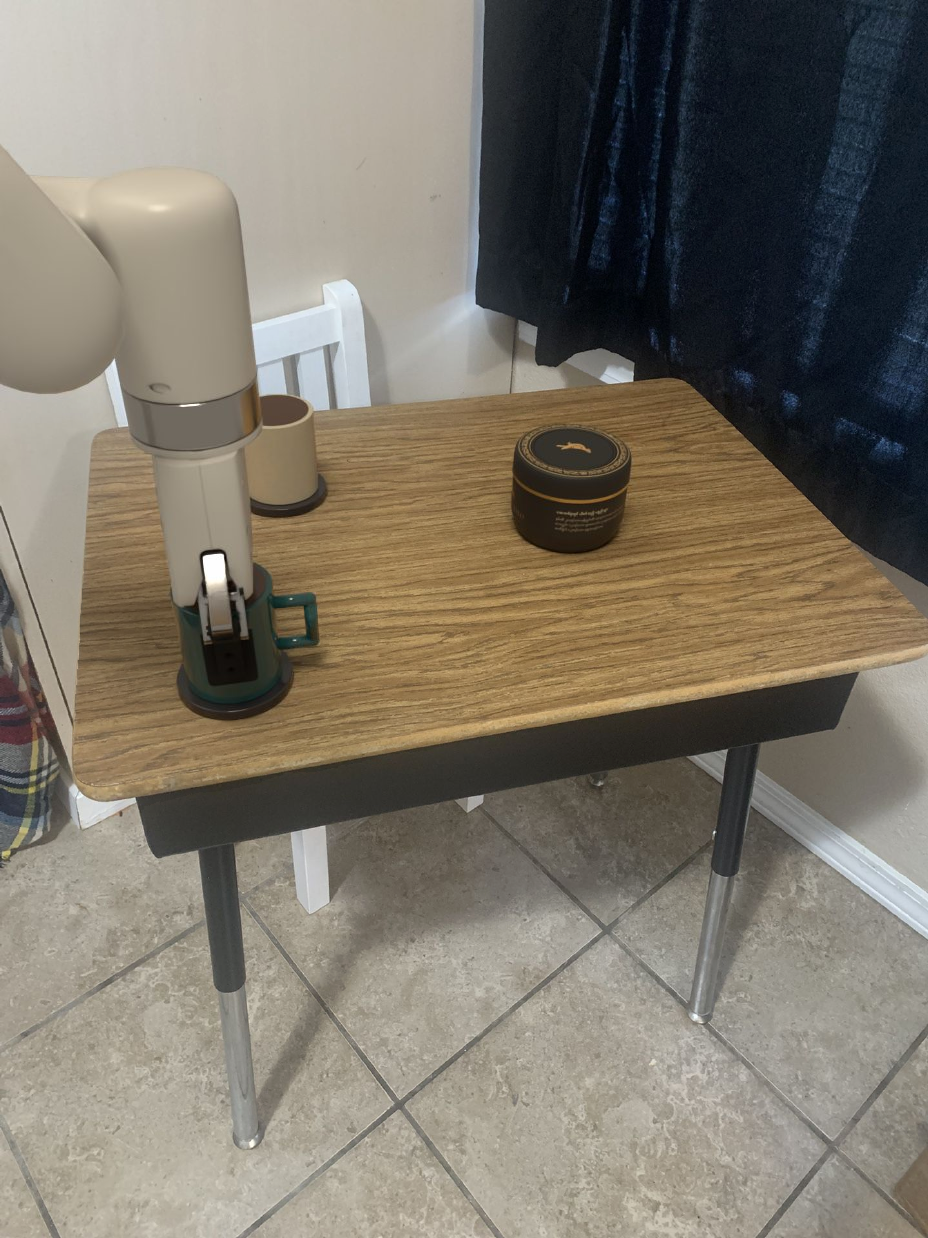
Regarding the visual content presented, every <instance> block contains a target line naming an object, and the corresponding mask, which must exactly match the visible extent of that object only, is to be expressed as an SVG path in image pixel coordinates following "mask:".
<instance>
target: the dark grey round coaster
mask: <svg viewBox="0 0 928 1238" xmlns="http://www.w3.org/2000/svg"><path fill="white" fill-rule="evenodd" d="M318 482H319V486H318V489H317V491H316V492H315V493H314V494H313V495H312V496H311V497H309V498H307V499H305V500H303V501H300V502H297V503H293V504H286V505H270V504H264V503H261V502H258V501H256V500H254V499H252V498H251V497H250V507H251V514H255V515H257V516H262V517H268V518H289V517H296V516H300V515H303V514H306V513H308V512H311V511H313V510H315V509H317V508H318V507H319V506H321V504H322V503H323V502H324V501H325V500H326V498H327V494H328V488H327V487H328V485H327V482H326V479H325V478H324V476H323V475H322V474H321V473H320V472H318Z"/></svg>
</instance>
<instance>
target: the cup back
mask: <svg viewBox="0 0 928 1238" xmlns="http://www.w3.org/2000/svg"><path fill="white" fill-rule="evenodd" d="M259 396H260V405H261V415H262V422H263V427H262V431H261V433H260V434H259V435H258V437H257V438H256V439H255V440H254V441H253V442H251V443H250V444H248V445H247V446H245V456H246V465H247V474H248V484H249V494H250V497H251V498H252V499H254V500H256V501H258V502H261V503H264V504H270V505H286V504H293V503H297V502H300V501H303V500H305V499H307V498H309V497H311V496H312V495H313V494H314V493H315V492H316V491H317V489H318V486H319V482H318V473H319V469H318V455H317V443H316V442H317V441H316V429H315V415H314V414H315V413H314V407H313V405H312V403H311V402H309V401H308V400H307V399H305V398H303V397H301V396H297V395H293V394H288V393H287V394H286V393H271V394H270V393H269V394H263V395H259Z"/></svg>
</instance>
